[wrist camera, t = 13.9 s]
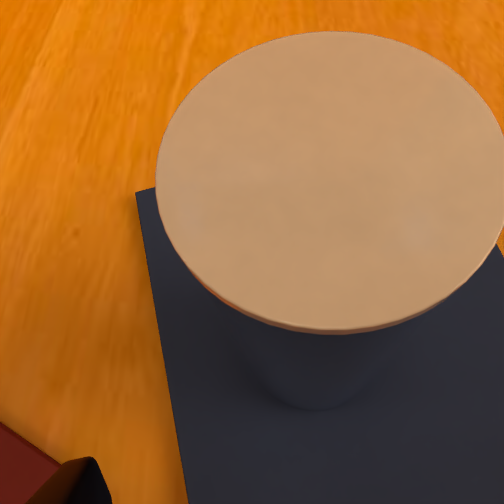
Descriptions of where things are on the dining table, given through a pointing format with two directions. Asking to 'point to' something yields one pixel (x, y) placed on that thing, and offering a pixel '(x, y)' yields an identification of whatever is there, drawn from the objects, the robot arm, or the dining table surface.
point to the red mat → (21, 468)
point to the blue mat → (341, 418)
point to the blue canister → (330, 203)
